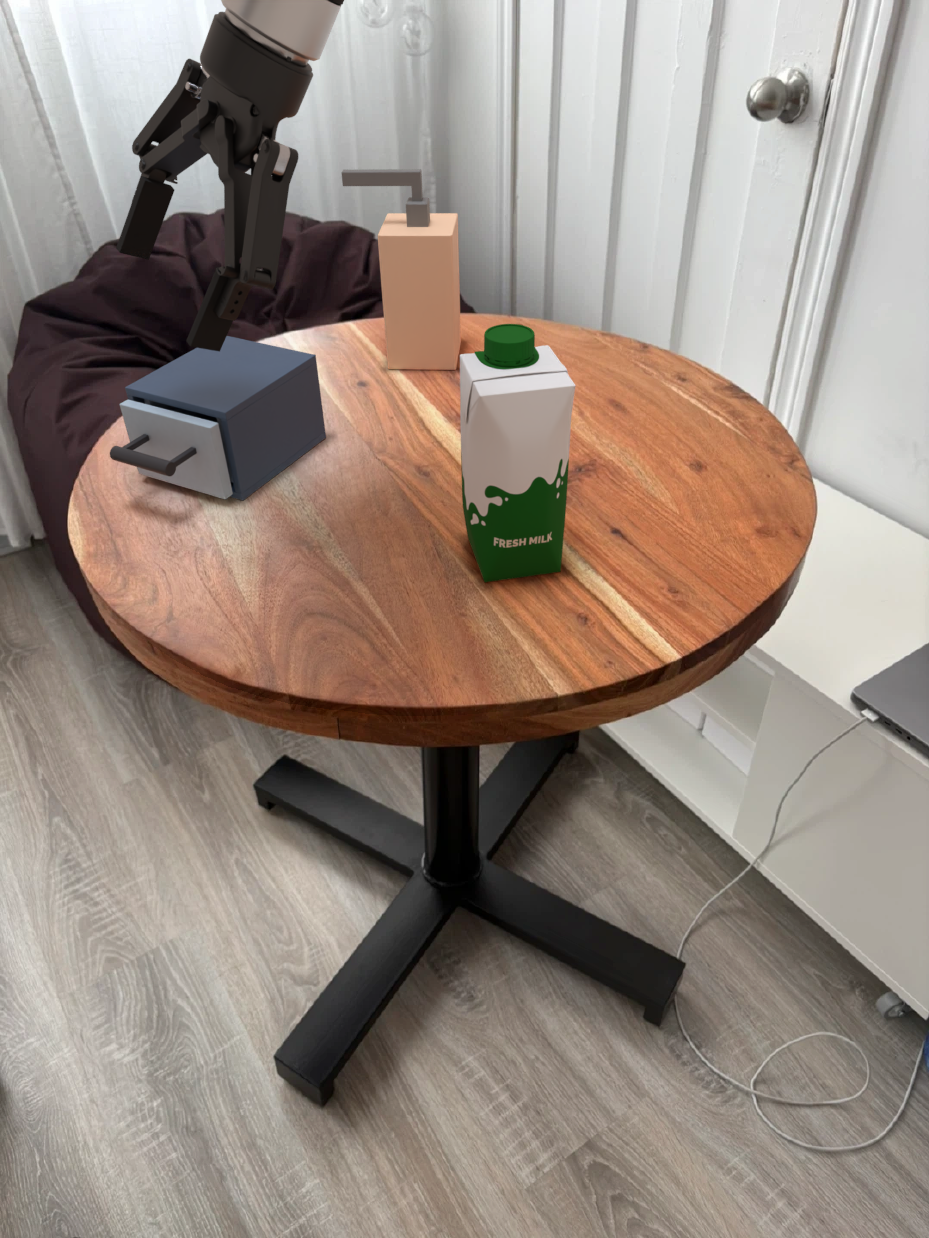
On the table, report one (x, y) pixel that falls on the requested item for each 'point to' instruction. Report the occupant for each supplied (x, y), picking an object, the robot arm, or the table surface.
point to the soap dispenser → (417, 276)
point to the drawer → (176, 447)
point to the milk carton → (515, 453)
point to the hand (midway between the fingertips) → (166, 299)
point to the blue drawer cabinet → (246, 403)
